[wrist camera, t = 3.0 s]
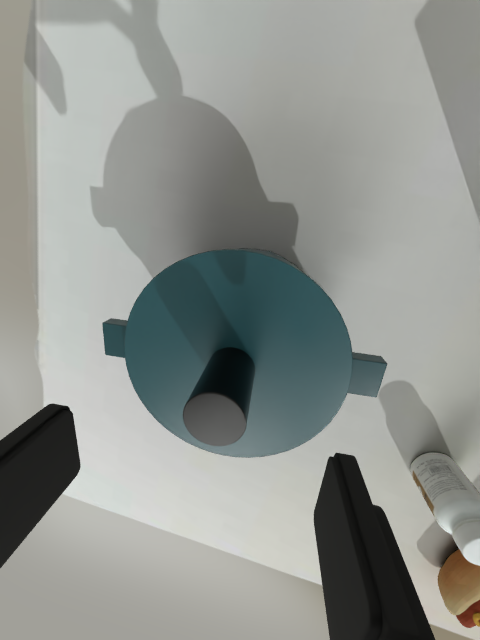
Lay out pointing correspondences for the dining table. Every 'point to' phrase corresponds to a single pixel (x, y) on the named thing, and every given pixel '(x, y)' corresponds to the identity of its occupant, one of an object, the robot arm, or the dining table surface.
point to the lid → (238, 353)
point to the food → (461, 588)
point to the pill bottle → (450, 500)
